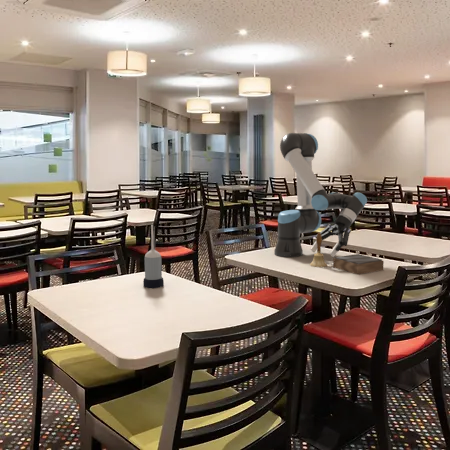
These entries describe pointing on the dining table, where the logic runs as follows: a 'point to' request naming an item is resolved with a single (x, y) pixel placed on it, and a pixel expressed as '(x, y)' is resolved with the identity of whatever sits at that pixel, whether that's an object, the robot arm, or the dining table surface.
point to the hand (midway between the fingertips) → (321, 253)
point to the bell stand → (358, 263)
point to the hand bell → (318, 254)
